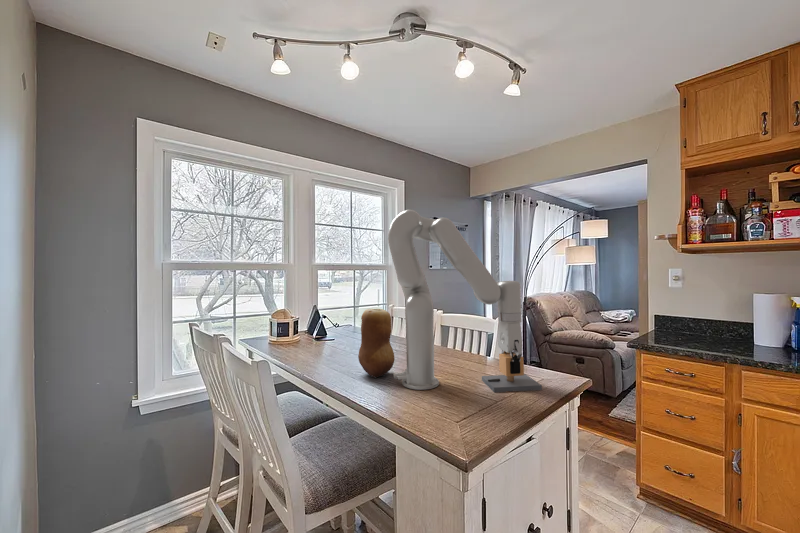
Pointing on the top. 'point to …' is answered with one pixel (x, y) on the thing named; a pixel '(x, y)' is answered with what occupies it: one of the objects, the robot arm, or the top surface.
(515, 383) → the plate
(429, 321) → the robot arm
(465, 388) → the top surface
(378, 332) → the butternut squash
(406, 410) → the top surface
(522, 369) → the tan wooden cube
